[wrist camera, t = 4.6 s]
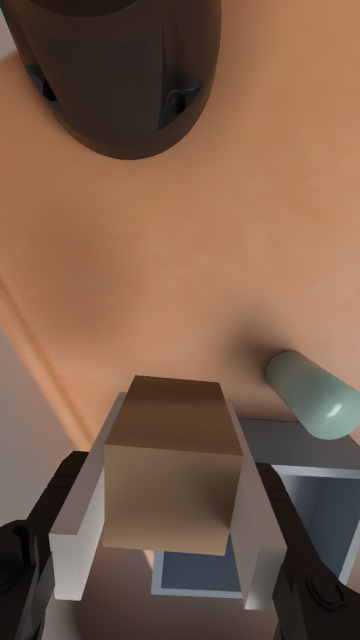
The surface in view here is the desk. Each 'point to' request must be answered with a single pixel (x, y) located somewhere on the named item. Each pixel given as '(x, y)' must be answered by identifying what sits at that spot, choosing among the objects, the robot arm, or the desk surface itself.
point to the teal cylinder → (314, 395)
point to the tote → (306, 494)
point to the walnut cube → (171, 468)
